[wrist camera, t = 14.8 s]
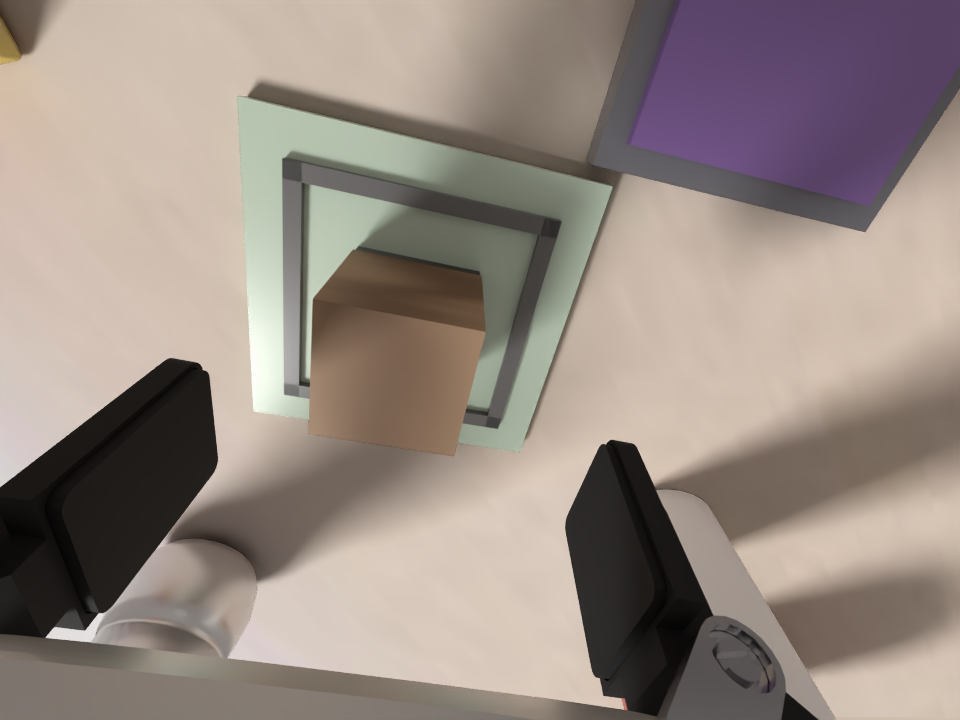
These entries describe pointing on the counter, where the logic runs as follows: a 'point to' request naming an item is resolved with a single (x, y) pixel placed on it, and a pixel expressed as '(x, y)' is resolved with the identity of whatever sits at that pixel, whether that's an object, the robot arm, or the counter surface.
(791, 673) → the cylindrical container
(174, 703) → the robot arm
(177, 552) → the plastic bottle
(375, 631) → the counter surface
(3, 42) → the candy box
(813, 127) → the ink pad
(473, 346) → the stamp
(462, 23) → the counter surface
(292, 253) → the board
